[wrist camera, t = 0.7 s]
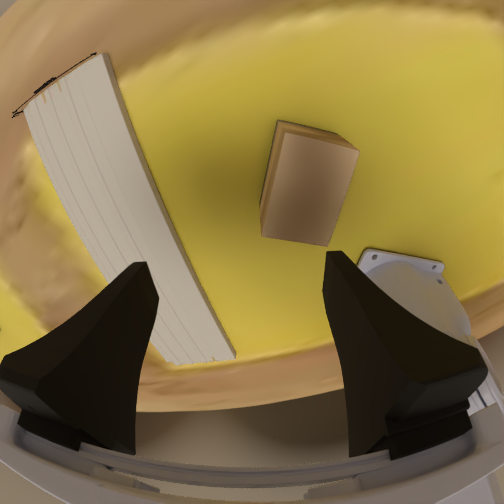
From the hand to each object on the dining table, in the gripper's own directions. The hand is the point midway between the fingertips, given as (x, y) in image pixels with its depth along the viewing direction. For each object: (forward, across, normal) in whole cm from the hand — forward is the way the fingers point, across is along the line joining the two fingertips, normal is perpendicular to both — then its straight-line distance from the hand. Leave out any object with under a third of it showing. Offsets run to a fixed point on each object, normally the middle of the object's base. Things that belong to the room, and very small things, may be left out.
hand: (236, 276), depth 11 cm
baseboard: (+10, +10, +5) cm, 15 cm away
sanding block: (+10, -4, -1) cm, 10 cm away
